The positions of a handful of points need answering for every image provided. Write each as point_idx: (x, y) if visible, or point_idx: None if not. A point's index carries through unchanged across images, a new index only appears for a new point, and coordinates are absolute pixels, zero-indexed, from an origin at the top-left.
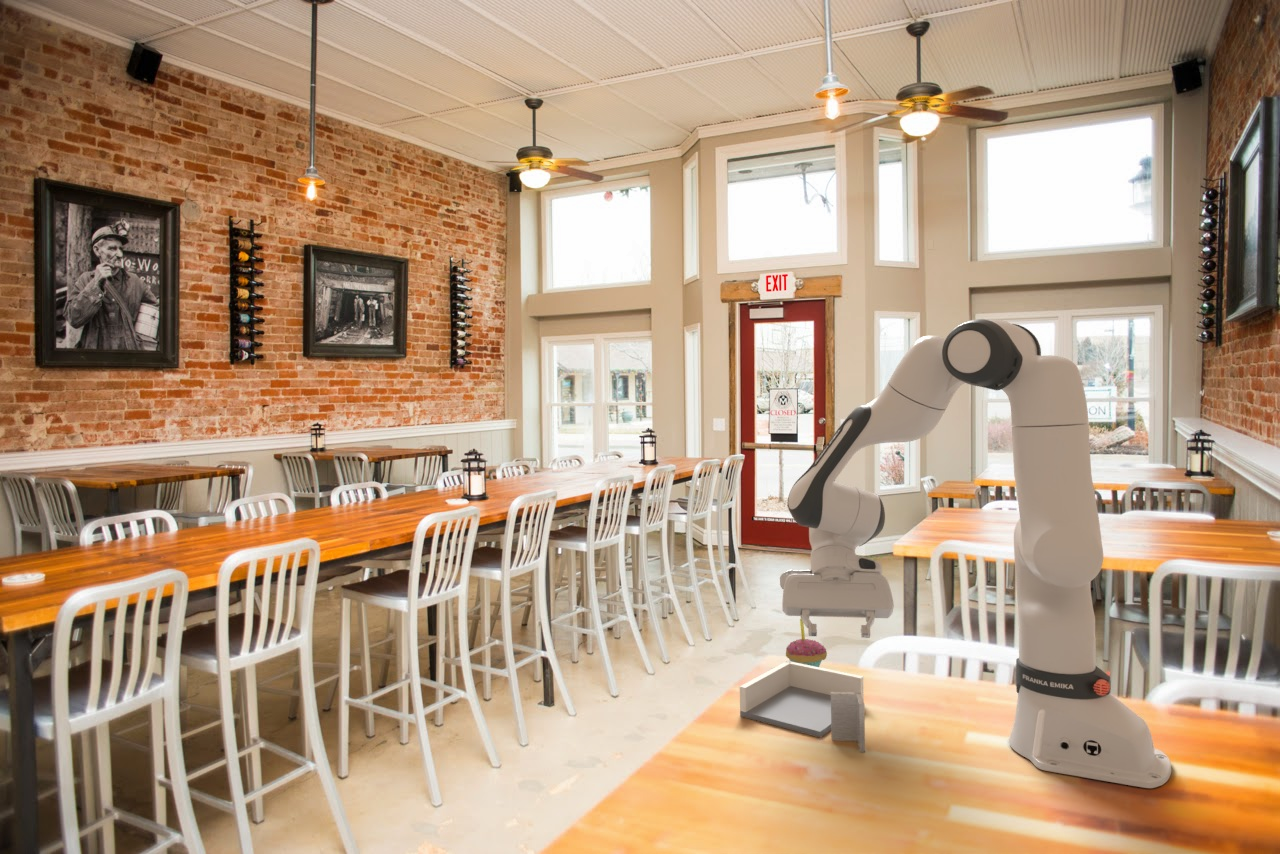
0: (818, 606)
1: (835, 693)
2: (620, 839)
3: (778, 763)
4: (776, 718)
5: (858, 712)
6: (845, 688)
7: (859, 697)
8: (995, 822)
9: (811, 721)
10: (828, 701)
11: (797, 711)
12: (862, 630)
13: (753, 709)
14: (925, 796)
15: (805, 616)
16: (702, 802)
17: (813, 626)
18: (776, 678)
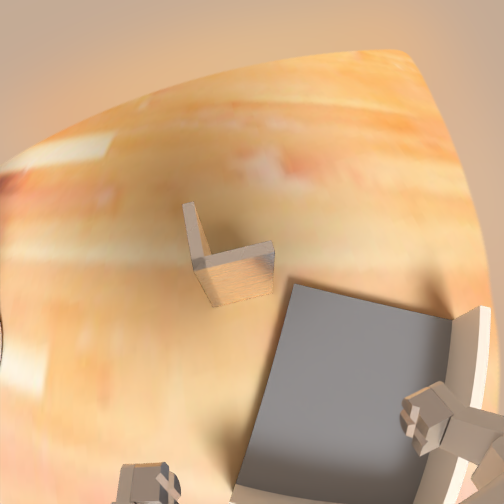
0: (476, 500)
1: (259, 243)
2: (380, 52)
3: (328, 174)
4: (394, 315)
5: (202, 234)
6: (275, 501)
7: (195, 237)
8: (74, 145)
9: (324, 330)
10: (312, 462)
11: (367, 372)
12: (156, 472)
13: (446, 341)
14: (126, 161)
15: (500, 424)
16: (361, 89)
17: (434, 407)
18: (448, 453)
